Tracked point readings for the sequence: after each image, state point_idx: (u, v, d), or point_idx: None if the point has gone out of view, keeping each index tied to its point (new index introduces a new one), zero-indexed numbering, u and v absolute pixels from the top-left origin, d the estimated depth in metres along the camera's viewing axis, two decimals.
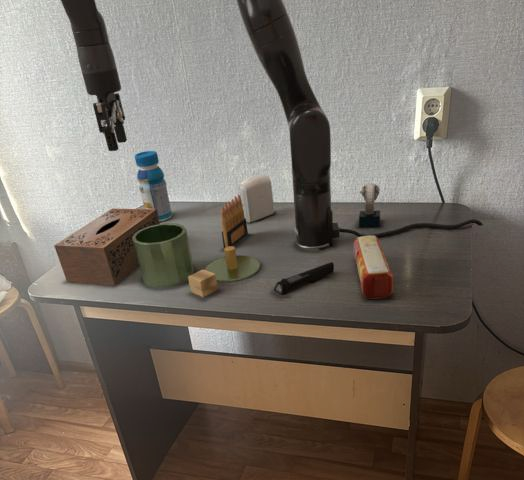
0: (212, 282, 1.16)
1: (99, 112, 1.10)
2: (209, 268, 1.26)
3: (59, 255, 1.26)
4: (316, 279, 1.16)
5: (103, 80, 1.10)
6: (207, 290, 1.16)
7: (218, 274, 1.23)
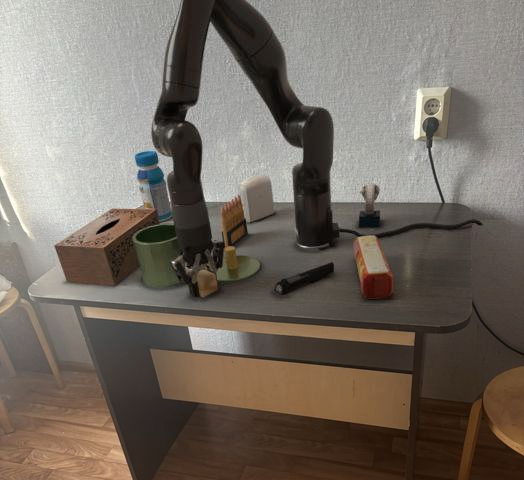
0: (212, 282, 1.16)
1: (175, 269, 1.10)
2: None
3: (59, 255, 1.26)
4: (316, 279, 1.16)
5: (183, 236, 1.07)
6: (207, 290, 1.16)
7: (218, 274, 1.23)
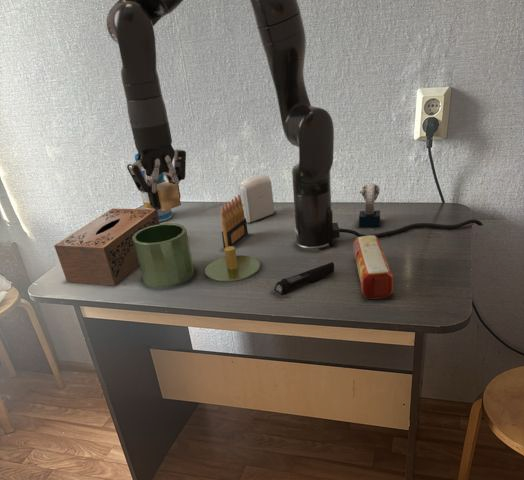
0: (174, 193, 1.10)
1: (133, 175, 1.04)
2: (209, 268, 1.26)
3: (59, 255, 1.26)
4: (316, 279, 1.16)
5: (140, 136, 1.01)
6: (169, 201, 1.10)
7: (218, 274, 1.23)
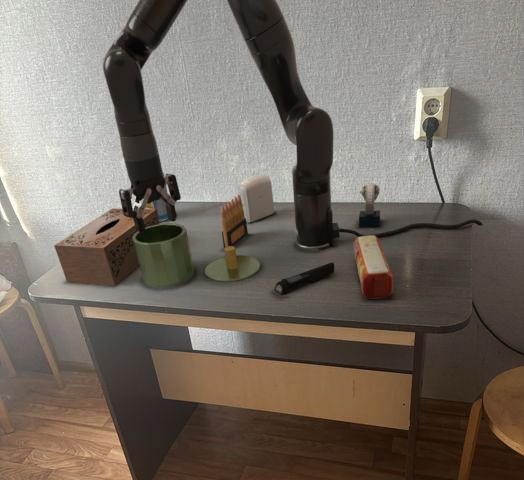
0: None
1: (123, 199, 1.11)
2: (209, 268, 1.26)
3: (59, 255, 1.26)
4: (316, 279, 1.15)
5: (133, 169, 1.09)
6: None
7: (218, 274, 1.23)
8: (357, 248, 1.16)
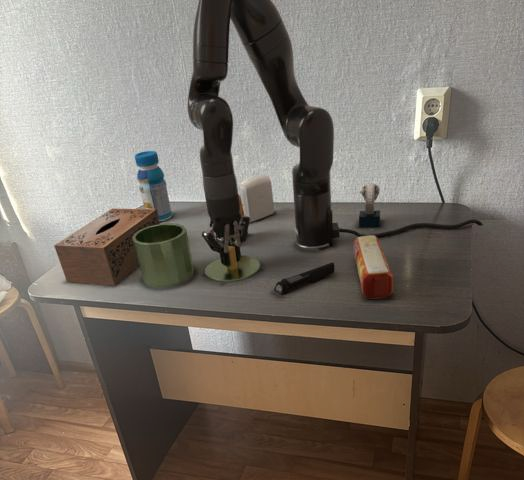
0: None
1: (208, 240, 1.17)
2: (209, 268, 1.26)
3: (59, 255, 1.26)
4: (316, 279, 1.15)
5: (214, 206, 1.13)
6: None
7: (218, 274, 1.23)
8: (357, 248, 1.16)
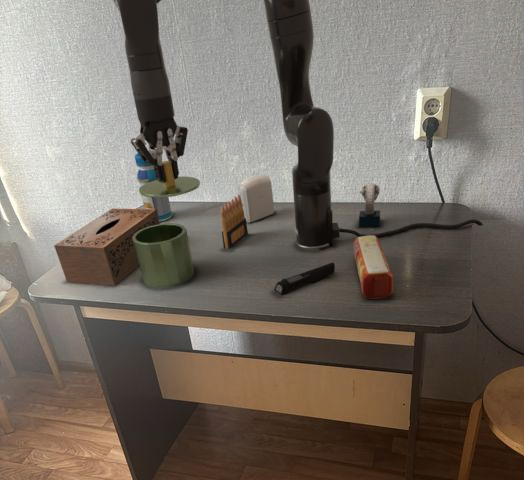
0: None
1: (138, 149, 1.06)
2: (144, 187, 1.15)
3: (59, 255, 1.26)
4: (316, 279, 1.15)
5: (143, 108, 1.02)
6: None
7: (152, 191, 1.11)
8: (357, 248, 1.16)
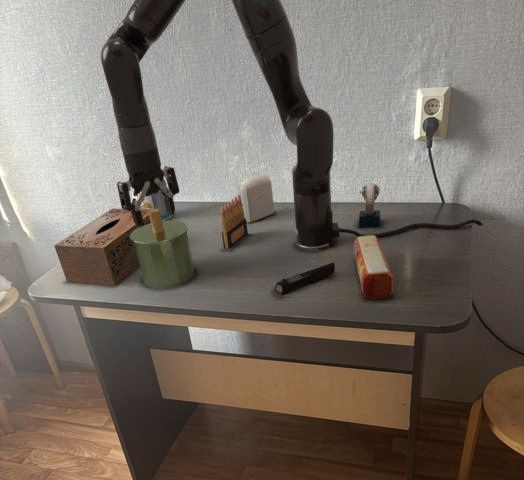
0: None
1: (121, 192, 1.10)
2: (135, 233, 1.21)
3: (59, 255, 1.26)
4: (316, 279, 1.15)
5: (131, 161, 1.08)
6: None
7: (142, 238, 1.18)
8: (357, 248, 1.16)
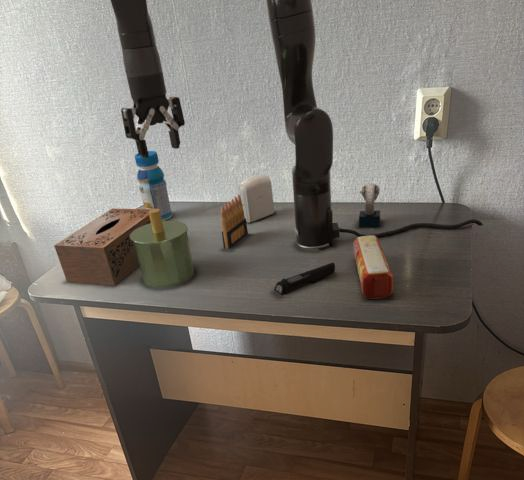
0: None
1: (125, 118, 1.08)
2: (135, 233, 1.21)
3: (59, 255, 1.26)
4: (317, 279, 1.15)
5: (135, 85, 1.05)
6: None
7: (142, 238, 1.18)
8: (357, 248, 1.16)
